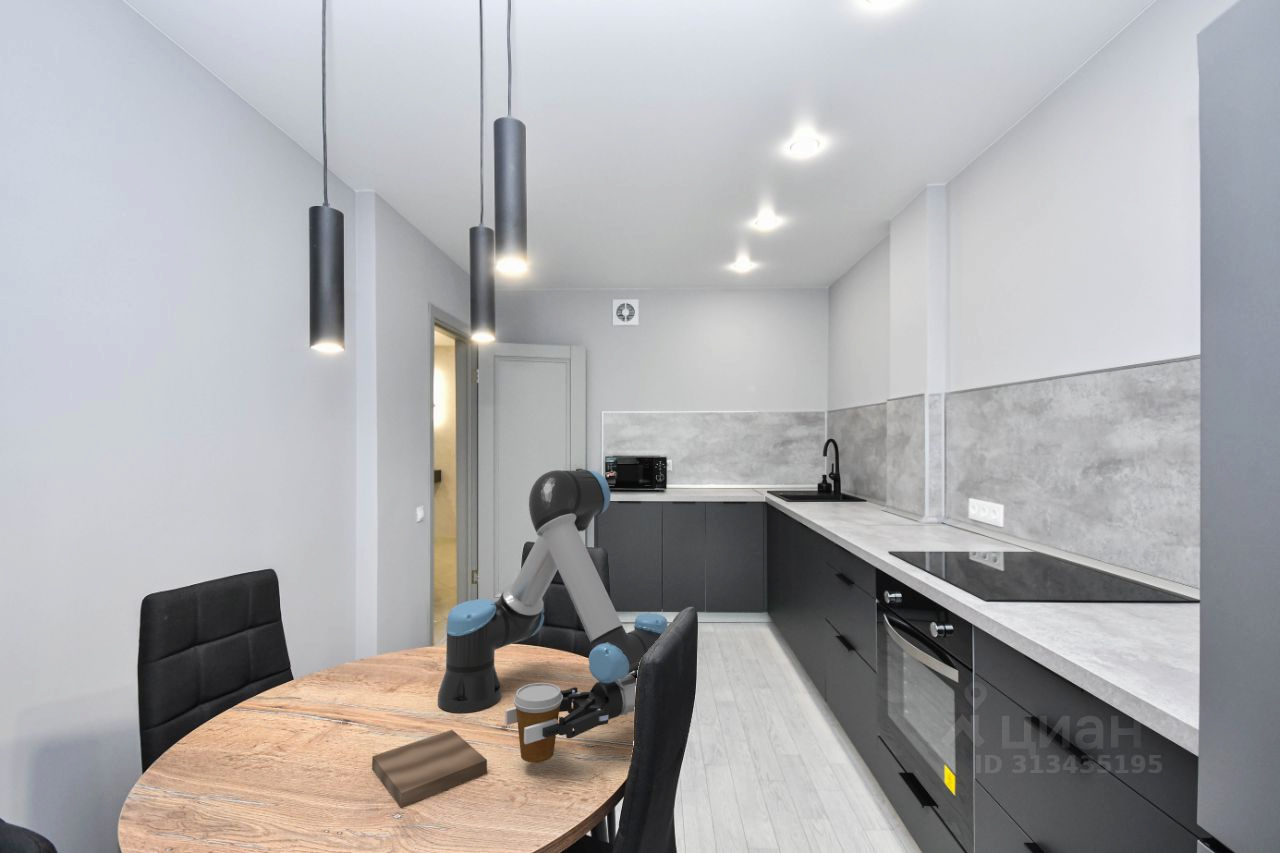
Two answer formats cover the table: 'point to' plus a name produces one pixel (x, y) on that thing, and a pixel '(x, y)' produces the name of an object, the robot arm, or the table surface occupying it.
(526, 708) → the disposable coffee cup
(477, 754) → the walnut board
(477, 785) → the table surface
